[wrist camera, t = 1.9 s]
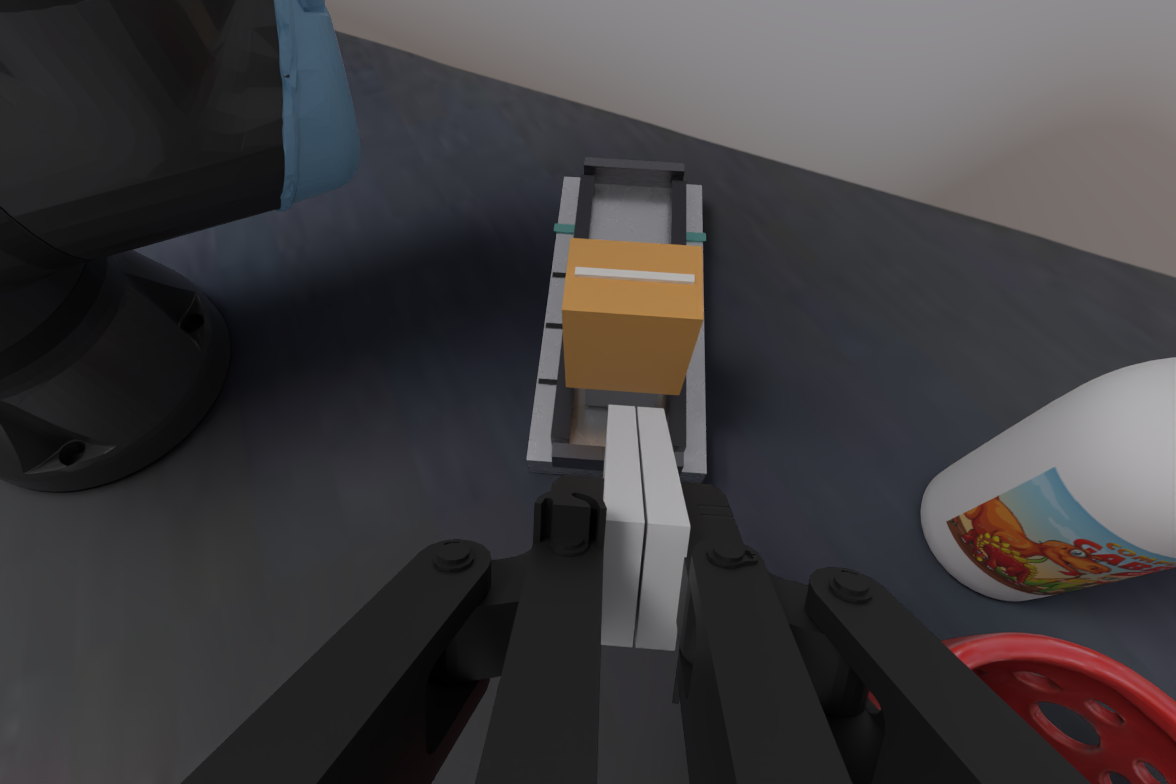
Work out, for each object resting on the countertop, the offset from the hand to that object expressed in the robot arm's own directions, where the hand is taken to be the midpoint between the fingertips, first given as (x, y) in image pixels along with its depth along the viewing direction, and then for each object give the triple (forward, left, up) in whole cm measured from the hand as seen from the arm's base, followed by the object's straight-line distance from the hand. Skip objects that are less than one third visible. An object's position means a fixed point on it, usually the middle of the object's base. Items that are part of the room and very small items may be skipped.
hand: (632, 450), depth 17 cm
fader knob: (-3, +9, -15) cm, 18 cm away
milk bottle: (+19, +11, -17) cm, 27 cm away
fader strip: (-5, +15, -17) cm, 23 cm away
